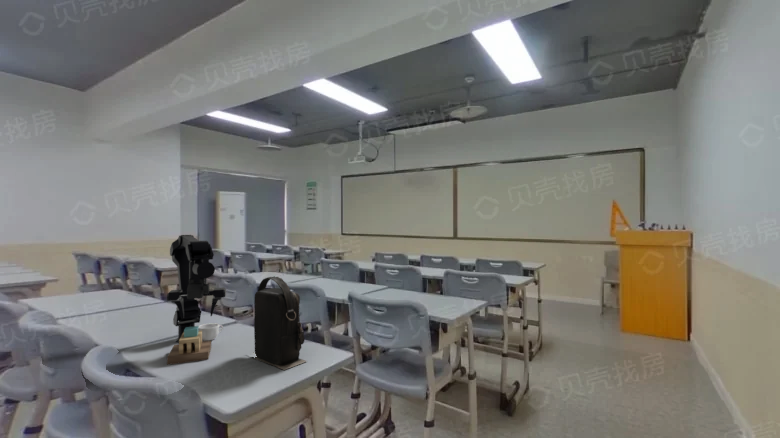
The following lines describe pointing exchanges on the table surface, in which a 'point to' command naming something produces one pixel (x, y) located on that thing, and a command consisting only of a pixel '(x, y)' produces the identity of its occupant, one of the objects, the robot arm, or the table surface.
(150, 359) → the table surface
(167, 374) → the table surface
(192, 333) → the teal square block
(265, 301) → the shoulder bag
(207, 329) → the teacup
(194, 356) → the block
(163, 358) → the table surface
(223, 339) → the table surface
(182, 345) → the pallet
